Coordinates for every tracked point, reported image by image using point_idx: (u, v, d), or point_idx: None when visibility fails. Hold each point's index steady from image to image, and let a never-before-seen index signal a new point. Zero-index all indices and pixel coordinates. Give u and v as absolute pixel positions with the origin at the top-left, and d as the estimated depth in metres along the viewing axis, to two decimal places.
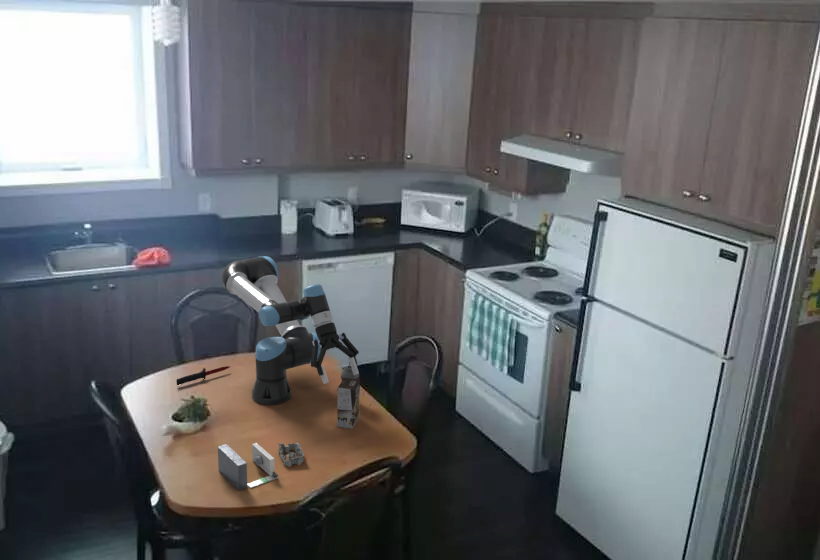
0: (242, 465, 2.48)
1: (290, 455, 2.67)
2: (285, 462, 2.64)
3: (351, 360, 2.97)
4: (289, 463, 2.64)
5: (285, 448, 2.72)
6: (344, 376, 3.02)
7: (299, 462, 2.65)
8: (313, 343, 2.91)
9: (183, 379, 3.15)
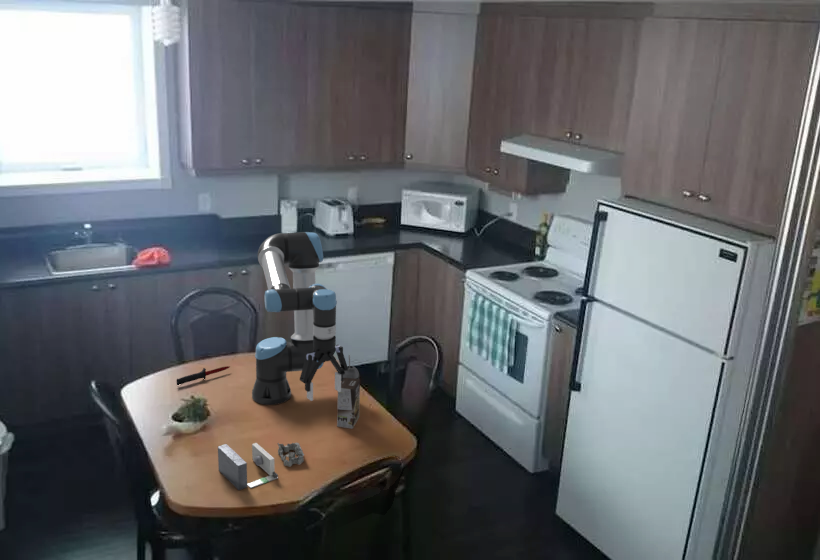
0: (242, 465, 2.48)
1: (290, 455, 2.67)
2: (285, 462, 2.64)
3: (337, 376, 2.72)
4: (289, 463, 2.64)
5: (284, 448, 2.72)
6: (344, 376, 3.02)
7: (299, 462, 2.65)
8: (307, 357, 2.62)
9: (183, 379, 3.15)
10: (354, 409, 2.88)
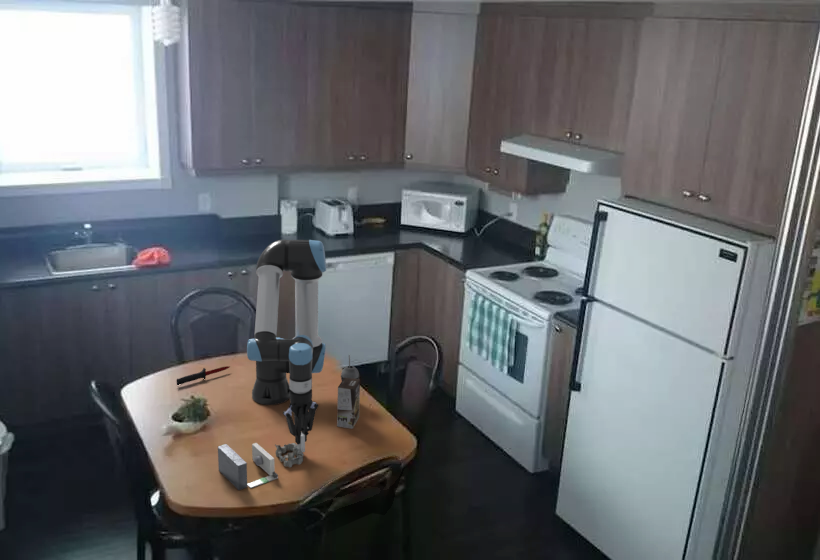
0: (242, 465, 2.48)
1: (290, 456, 2.66)
2: (286, 463, 2.64)
3: None
4: (290, 464, 2.64)
5: (282, 449, 2.71)
6: (344, 376, 3.02)
7: (299, 462, 2.66)
8: (285, 416, 2.63)
9: (183, 379, 3.15)
10: (354, 409, 2.88)
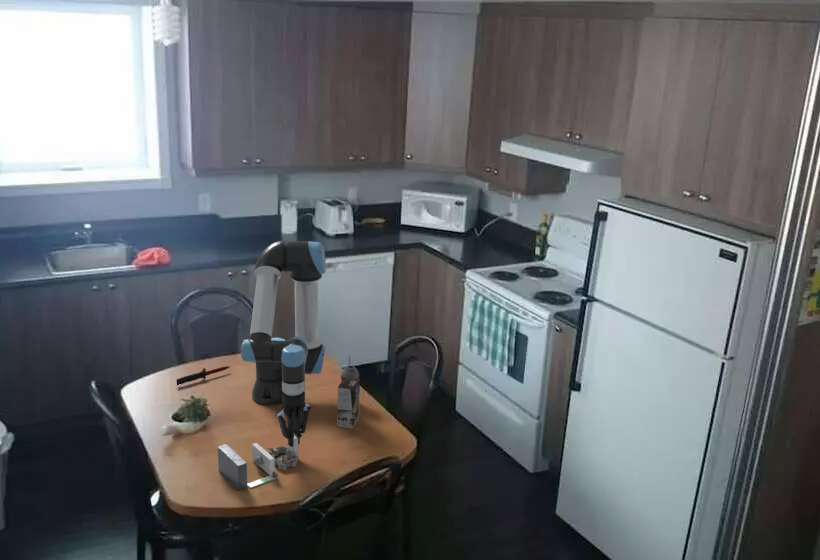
0: (242, 465, 2.48)
1: (284, 458, 2.64)
2: (280, 466, 2.62)
3: None
4: (285, 466, 2.62)
5: (274, 452, 2.69)
6: (344, 376, 3.02)
7: (294, 464, 2.64)
8: (278, 418, 2.61)
9: (183, 379, 3.15)
10: (354, 409, 2.88)
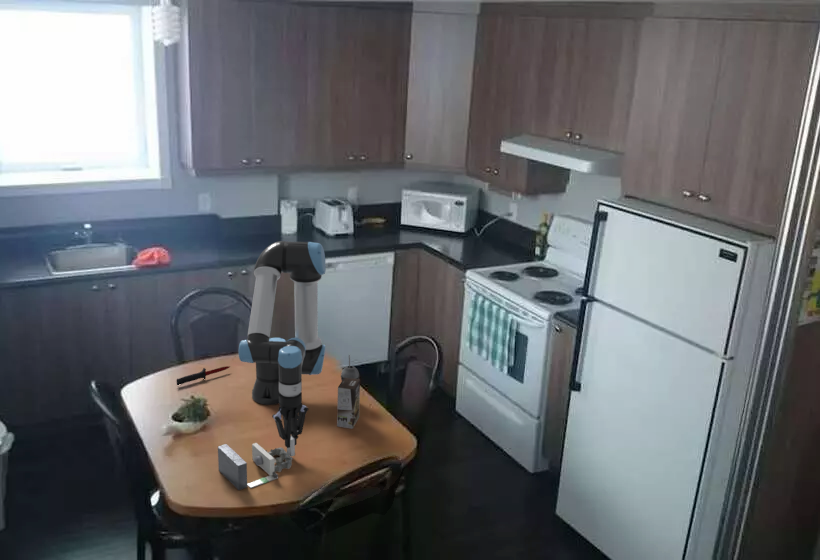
0: (242, 465, 2.48)
1: (278, 460, 2.63)
2: (275, 468, 2.61)
3: None
4: (280, 468, 2.61)
5: None
6: (344, 376, 3.02)
7: (289, 466, 2.63)
8: (275, 419, 2.60)
9: (183, 379, 3.15)
10: (354, 409, 2.88)
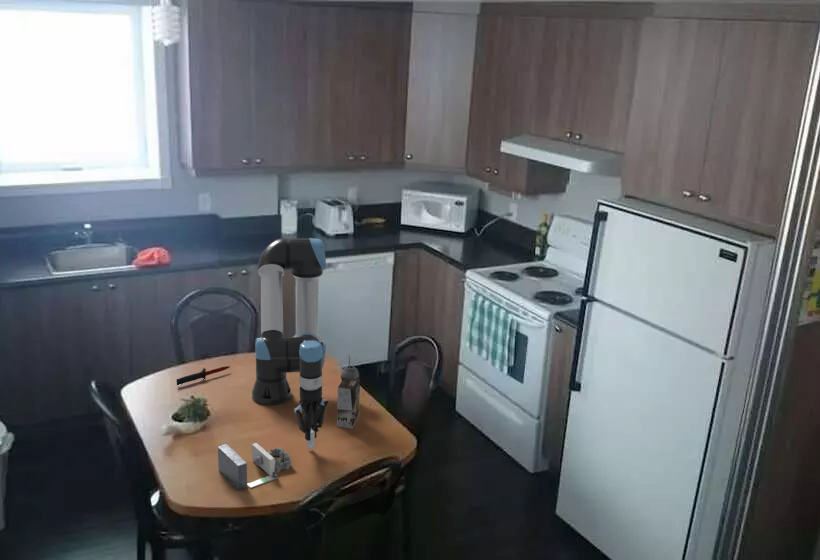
0: (242, 465, 2.48)
1: (277, 461, 2.63)
2: None
3: None
4: (278, 469, 2.61)
5: None
6: (344, 376, 3.02)
7: (288, 466, 2.63)
8: (295, 412, 2.65)
9: (183, 379, 3.15)
10: (354, 409, 2.88)
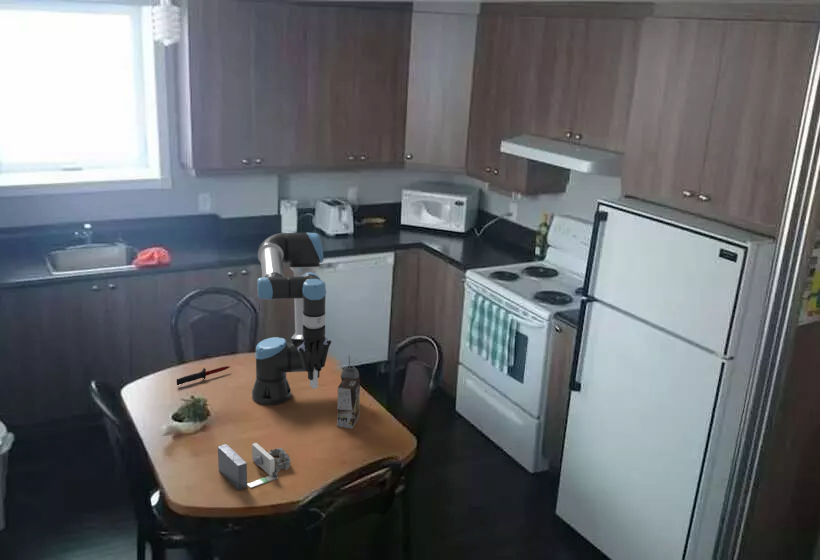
0: (242, 465, 2.48)
1: (276, 461, 2.63)
2: None
3: None
4: (277, 469, 2.60)
5: None
6: (344, 376, 3.02)
7: (287, 467, 2.62)
8: (298, 351, 2.65)
9: (183, 379, 3.15)
10: (354, 409, 2.88)
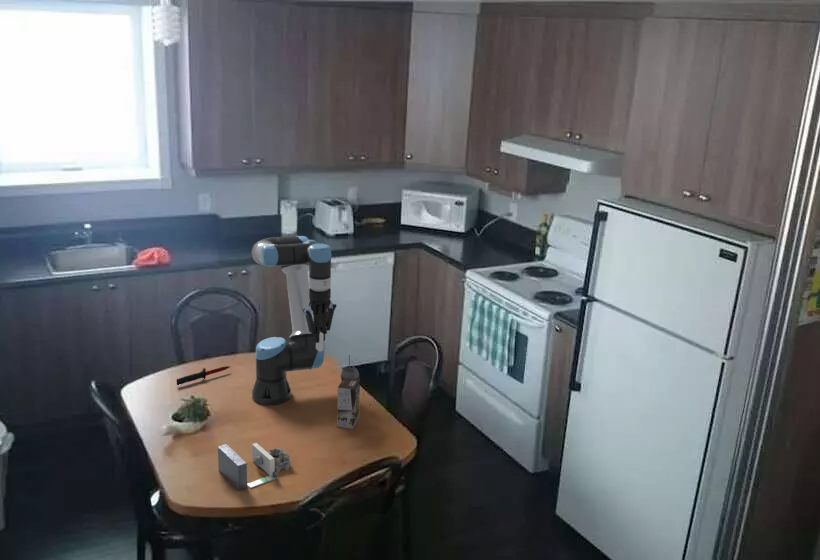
0: (242, 465, 2.48)
1: (276, 461, 2.63)
2: None
3: None
4: (278, 469, 2.60)
5: None
6: (344, 376, 3.02)
7: (287, 467, 2.62)
8: (305, 313, 2.75)
9: (183, 379, 3.15)
10: (354, 409, 2.88)
